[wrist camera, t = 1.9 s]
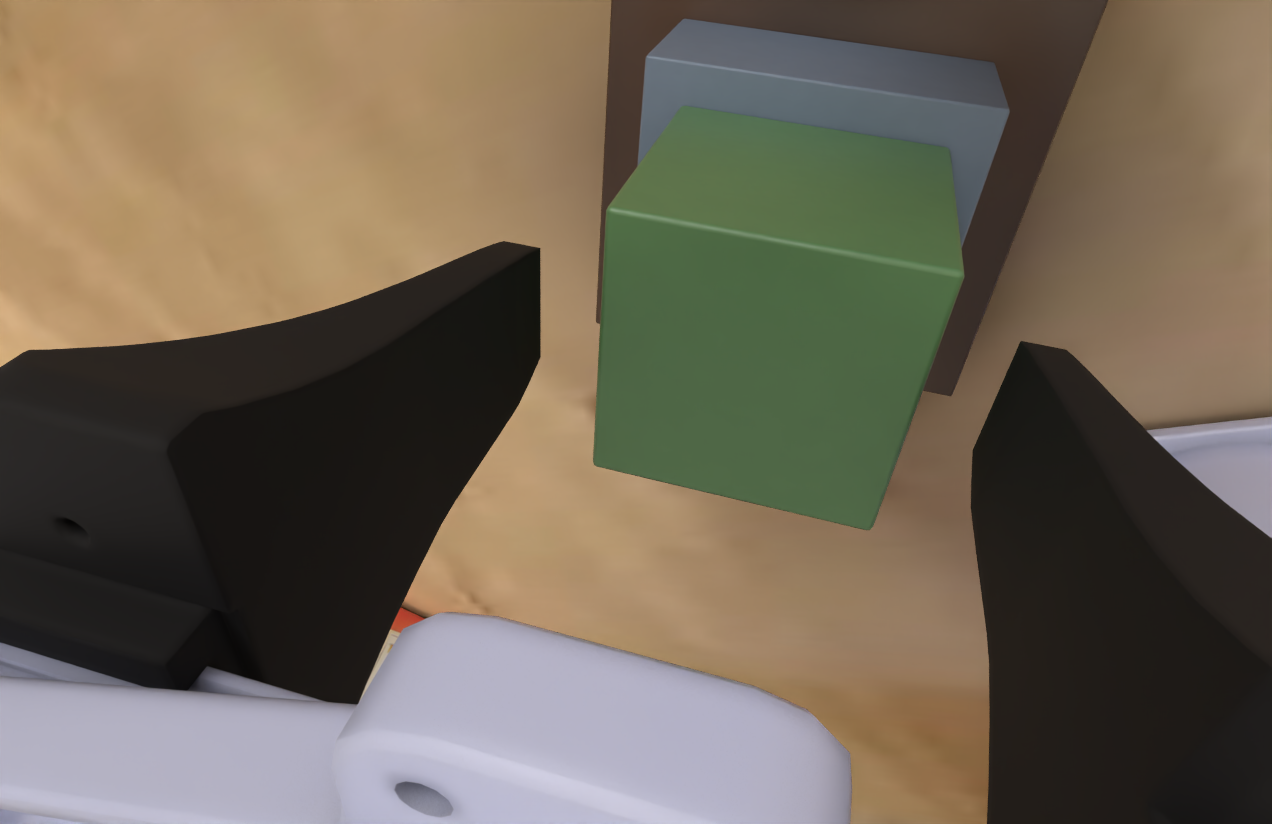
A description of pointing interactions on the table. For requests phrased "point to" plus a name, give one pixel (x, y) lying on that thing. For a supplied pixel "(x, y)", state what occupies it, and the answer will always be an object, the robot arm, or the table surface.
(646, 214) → the green block
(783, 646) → the table surface
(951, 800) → the table surface
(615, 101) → the walnut slab
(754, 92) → the blue-grey block
